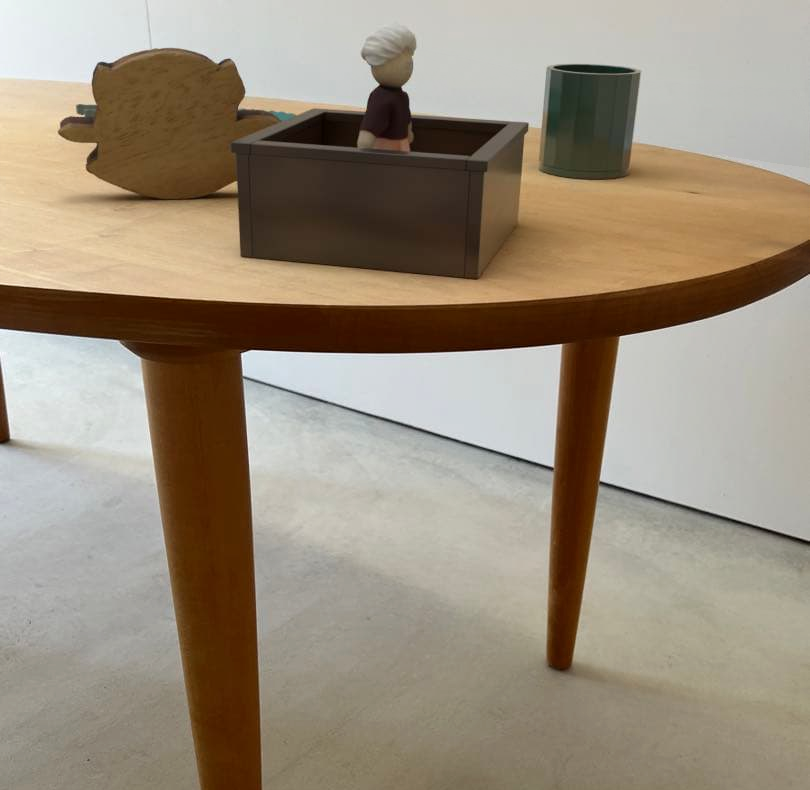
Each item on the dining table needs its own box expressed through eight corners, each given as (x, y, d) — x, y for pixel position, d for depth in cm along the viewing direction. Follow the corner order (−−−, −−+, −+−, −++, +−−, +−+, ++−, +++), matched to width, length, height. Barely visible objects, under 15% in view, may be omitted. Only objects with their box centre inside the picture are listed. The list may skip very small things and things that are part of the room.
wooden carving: (284, 185, 85) (280, 44, 81) (299, 198, 82) (296, 50, 77) (63, 194, 81) (45, 44, 76) (67, 208, 77) (49, 51, 72)
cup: (631, 165, 97) (644, 66, 93) (625, 182, 90) (637, 76, 87) (545, 159, 98) (553, 61, 95) (532, 175, 92) (541, 70, 88)
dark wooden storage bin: (521, 223, 76) (528, 122, 73) (480, 280, 64) (487, 161, 61) (314, 205, 80) (312, 108, 76) (235, 256, 67) (230, 142, 64)
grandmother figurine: (406, 255, 68) (413, 29, 62) (345, 251, 69) (346, 26, 62) (427, 227, 75) (434, 20, 69) (371, 223, 75) (374, 17, 69)
